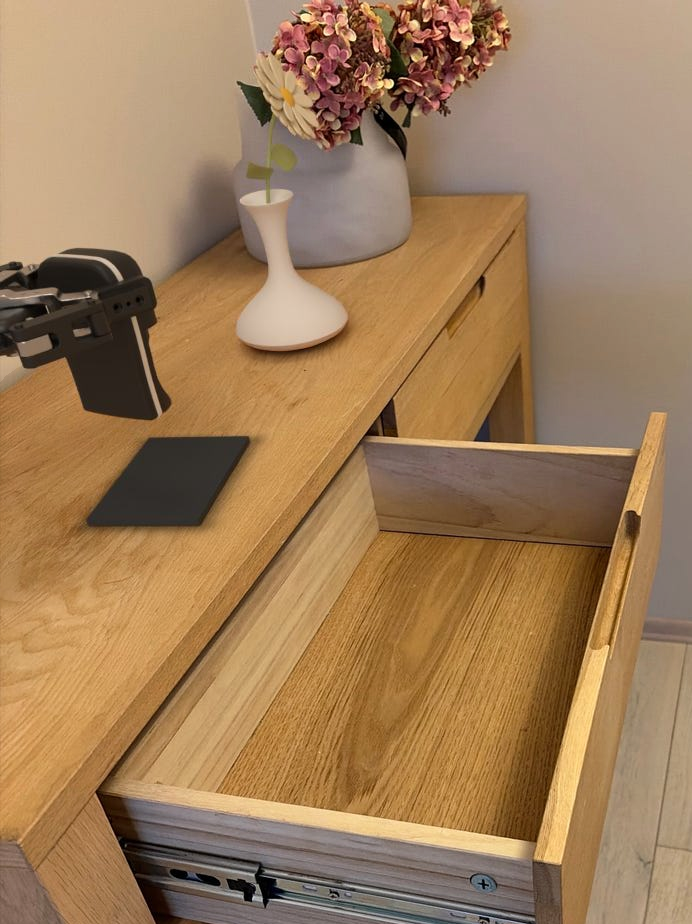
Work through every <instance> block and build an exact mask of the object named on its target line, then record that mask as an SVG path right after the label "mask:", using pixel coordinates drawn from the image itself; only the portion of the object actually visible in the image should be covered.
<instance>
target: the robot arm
mask: <svg viewBox="0 0 692 924" xmlns="http://www.w3.org/2000/svg"><path fill="white" fill-rule="evenodd" d="M39 265H40V263H29V264H27V265H26V266H24V264H23V263H22V261H15V260H14V261H9V262H8V263H5V264H1V265H0V357H3V356H4V357H6V358H14V357H15V358H16V357H19V360H20V362H21V365H22V368H24V369H25V370H33V369H37V368H40V367H42V366H45V365H47V364H50V363H54V362H56V361H59V360H61V359H64V358H65V357H67V356H70V355H73V354H76V353H79V352H81V351H84V350H87V349H90V348H93V347H95V346H98V345H101V344H104V343H107V342H109V341H111V340H112V339H113V336H112V333H111V330H110V327H109V325H110V324H113V323H116V322H119V321H122V320H125V319H128V318H131V317H134V316H137V315H140V314H143V313H146V312H148V311H151V310H154V311H155V309H156V308H157V306H158V301H157V297H156V293H155V290H154V285H153V283H152V280H151V279H150V278H149V277H146V276H144V275H143V276H142V275H138V276H135V277H131V278H128V279H125V280H122V281H119V282H116V283H113V284H109V285H106V286H103V287H100V288H97V289H94V290H86V291H83V292H75V293H67V294H64V293H62V292H61V291H60V290H59V289H57V288H54V287H51V288H44V289H41V287H40V284H39V279H38V268H39ZM47 307H48V308H49V310H50V313H49V312H48V309H47ZM66 307H67V308H66ZM85 316H86V319H87V322H82V323H73V321H74V320H76V319H79V318H82V317H85ZM77 336H81V337H78V338H76V337H77ZM65 359H66V358H65Z"/></svg>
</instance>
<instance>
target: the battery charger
mask: <svg viewBox="0 0 692 924" xmlns="http://www.w3.org/2000/svg"><path fill="white" fill-rule="evenodd" d="M39 264H40V265H39V268H38V279H39V284H40V287H41V289H44V288H51V287H54V288H57V289H59V290H60V291H61V292H62V293H64V294H67V293H75V292H83V291H86V290H94V289H97V288H100V287H103V286H106V285H109V284H113V283H116V282H119V281H122V280H125V279H128V278H131V277H135V276H138V275H142V276H144V274H143V271H142V269H141V267H140V266H139V264H138V262H137V261H136V260H135V259H134V258H133V257H132V256H131V255H130V254H128V253H126V252H122V251H119V250H115V249H105V248H96V247H95V248H93V247H72V248H68V249H65V250H63V251H60V252H59V253H54V254H51V255H48V256H46V257H45V258H44V259H43V261H41V262H40V263H39ZM46 308H47V311H48V314H49V313H50V310H49V308H48V307H47V306H46ZM66 308H67V307H66ZM82 322H87V319H86V316H85V317H82V318H79V319H76V320H74V321H73V323H82ZM157 323H158V318H157V314H156V312H155V309H154V310H151V311H148V312H146V313H143V314H140V315H137V316H134V317H131V318H128V319H125V320H122V321H119V322H116V323H113V324H110V325H109V327H110V330H111V333H112V336H113V339H112V340H111V341H109V342H107V343H104V344H101V345H98V346H95V347H93V348H90V349H87V350H84V351H81V352H79V353H76V354H73V355H70V356H67V357H65V361H66V363H67V365H68V367H69V369H70V373H71V375H72V378H73V382H74V385H75V387H76V390H77V393H78V396H79V399H80V402H81V405H82V408H83V410H84V411H86V412H88V413H94V414H98V415H102V416H108V417H116V418H120V419H121V418H122V419H132V420H139V421H154V420H158V419H160V418H161V417H162V416H163V415H164V414H165V413H166V412H167V411H168V410H169V409H170V408H171V407H172V399H171V396H170V395H169V394H168V393H167V392H166V390H165V389H164V388H163V387H164V386H162V384H161V382H160V380H159V377H158V374H157V371H156V370H157V369H156V368H155V363H154V358H153V354H152V350H151V347H150V336H151V335H150V332H149V329H151V328H153V327H154V326H155V325H157ZM78 337H81V336H77V337H76V338H78Z"/></svg>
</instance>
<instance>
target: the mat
mask: <svg viewBox="0 0 692 924" xmlns="http://www.w3.org/2000/svg"><path fill="white" fill-rule="evenodd" d="M250 443H251V440H250V436H249V435H229V436H228V435H227V436H226V435H225V436H224V435H221V436H159V437H157V436H155V437H153V436H152V437H148V438H147V439H146V441H145V442H144V443H143V445H142V446H141V447H140V448H139V450H138V451H137V452H136V454H135V455H134V456H133V458H132V459H131V460H130V462H129V463H128V464H127V465H126V466H125V468H124V469H123V470H122V472H121V473H120V474H119V476H118V477H117V478H116V480H115V481H114V482H113V484H112V485H111V486H110V487H109V489H108V490H107V492H105V494H104V495H103V497H102V498H101V499H100V501H99V502H98V503H97V505H96V506H95V507H94V508H93V510H92V511H91V513H89V515H88V516H87V517H86V519H85V522H86V524H87V526H88V527H200V526H201V524H202V523H203V521H204V520H205V518H206V516H207V514H208V513H209V511H210V510H211V508H212V506H213V505H214V503H215V501H216V500H217V499H218V496H219V494H220V493H221V491H222V490H223V488H224V487H225V485H226V483H227V481H228V479H229V478H230V476H231V475H232V473H233V471H234V470H235V468H236V467H237V464H238V463H239V462H240V460H241V458H242V456H243V455H244V453H245V451H246V450H247V448H248V446H249V445H250Z"/></svg>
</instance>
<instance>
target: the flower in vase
mask: <svg viewBox="0 0 692 924" xmlns="http://www.w3.org/2000/svg"><path fill="white" fill-rule="evenodd" d="M257 57H258V58H257V59H256V60H255V65H256V67H257V68H255V69H254V72H255V74H256V76H257V78H258V79H257V84H258V86H259V88H260V89H261V91H262V94H263V97H264V99H265V100H266V102H267V103H268V104H269V105H270V110H271V112H272V115H271V119H270V124H269V129H268V135H267V136H268V137H267V153H266V155H267V156H266V166H263V165H259V164H256V163H254V162H252V161H248V164H247V168H246V173H245V177H246V178H247V179H249V180H250V179H251V180H260V181H262V180H263V181H264V180H265V189H262V190H258V191H253V192H250V193H247V194H245V195H243V196H242V197H240V199H239V203H240V205H242V206H243V208H245V209H246V211H247V212H248V213H249V214H250V216H251V217H252V220H254V222H255V225H256V226H257V229H258V231H259V233H260V237H261V240H262V243H263V246H264V250H265V254H266V255H265V256H266V260H267V267H268V268H267V270H268V274H267V279H266V281H265V282H264V285H263V286H262V287H261V289H260V290H259V291H258V292H257V293H256V294H255V296H253V297H252V299H251V300H250V301H249V302H248V303H247V305H246V306H245V307H244V308H243V309H242V312H241V313H240V315H239V316H238V318H237V319H236V325H235V335H236V336H237V338H238V339H239V340H240V341H241V342H242V343H244V344H245V345H246V346H248V347H250V348H254V349H257V350H263V351H271V352H273V351H274V352H288V351H289V352H290V351H295V350H296V351H298V350H301V349H307V348H310V347H314V346H316V345H319V344H322V343H324V342H326V341H328V340H331V339H332V338H334V337H335V336H337V335H338V334H340V333H341V332H342V330H343V329H344V328H345V326H346V324H347V321H348V319H349V314H348V312H347V310H346V308H345V307H344V305H343V303H341V302H340V301H339V300H338V299H336V298H335V297H334V296H333V295H331V294H329V293H328V292H326V291H325V290H322V289H321V288H319V287H318V286H316V285H314V284H312V283H311V282H308V281H307V280H305V279H304V278H303V277H301V276H300V275H299V274H298V272H297V271H296V269H295V267H294V265H293V262H292V258H291V253H290V249H289V241H288V231H287V219H288V218H287V217H288V212H289V211H288V210H289V208H290V207H289V206H290V204H291V201H292V199H293V197H294V192H293V191H291V190H290V189H285V188H284V189H283V188H271V177H272V175H273V173H274V171H275V169H274V168H272V167H271V166H272V165H271V163H272V162H273V163H274V164H275V165H276V166H277V167H279V168H280V169H281V170H283V171H284V172H290V171H293V169H294V168H295V167H296V166H297V161H298V157H297V156H296V154H295V152H294V151H293V150H292V149H291V148H290V147H288V146H287V145H285V144H283V143H279V142H276V143H274V144H273V145H272V142H273V141H272V140H273V133H274V126H275V123H276V119H278V120H279V121H280V123H281V124H282V125H283V126H285V127H287V130H288V131H289V132H290V134H292V136H293V137H296V136H299V138H300V139H302V140H306V139H307V140H308V141H311V140H312V139H315V140H316V139H317V136H316V134H315V132H314V130H313V129H312V128H316V129H319V128H320V123H319V122H318V118H317V115H316V114H315V112H314V111H313V110H311V109H310V108H312V107H314V101H313V100H312V98H311V97H310V96H309V95H308V94H305V91H304V88H303V87H302V86H301V85H299V84H298V83H297V76H296V74H295V72H294V71H293V70H291V69H289V70H287V71H286V70H283V67H282V64H281V63H280V61H279V59H278V58H276V57H275V55H274V54H273V53H271V52H268V54H267V57H265V55H263V53H261V52H259V53H258V54H257Z"/></svg>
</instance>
